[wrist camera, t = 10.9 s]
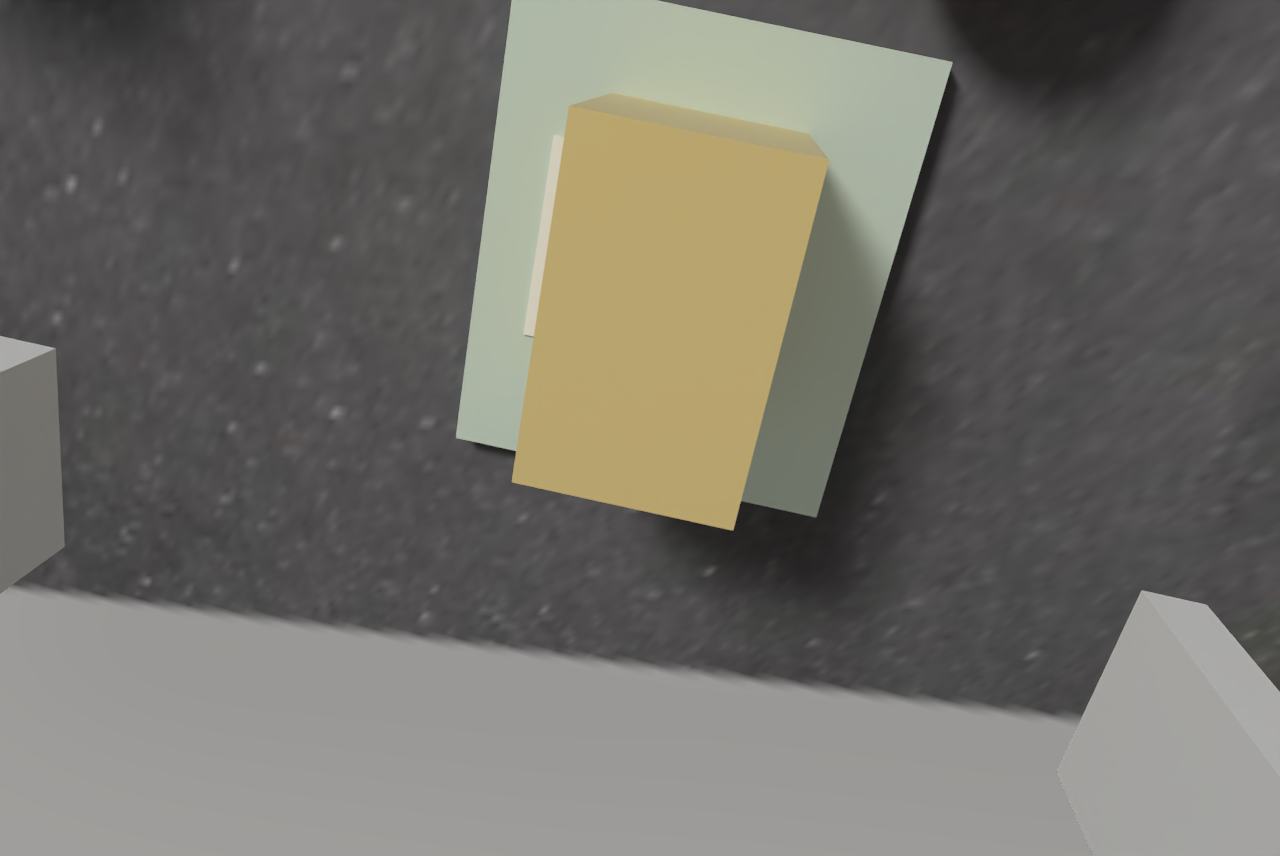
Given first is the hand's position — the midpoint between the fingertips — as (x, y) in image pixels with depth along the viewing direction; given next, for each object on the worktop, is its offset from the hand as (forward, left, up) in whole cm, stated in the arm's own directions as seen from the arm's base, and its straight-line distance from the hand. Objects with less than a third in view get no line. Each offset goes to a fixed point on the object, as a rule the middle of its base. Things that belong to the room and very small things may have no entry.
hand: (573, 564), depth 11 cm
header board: (0, 0, -19) cm, 19 cm away
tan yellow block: (0, 0, -18) cm, 18 cm away
